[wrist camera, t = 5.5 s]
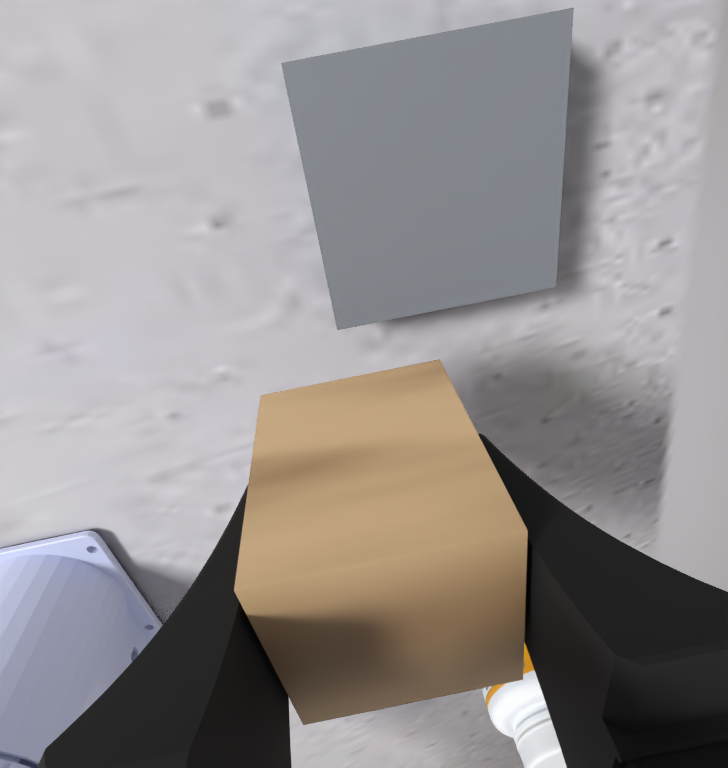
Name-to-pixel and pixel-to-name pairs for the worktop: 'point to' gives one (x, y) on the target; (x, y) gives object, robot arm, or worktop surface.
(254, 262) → the worktop surface
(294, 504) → the oak block
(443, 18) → the worktop surface
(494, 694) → the supplement bottle
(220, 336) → the worktop surface
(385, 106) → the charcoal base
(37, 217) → the worktop surface
